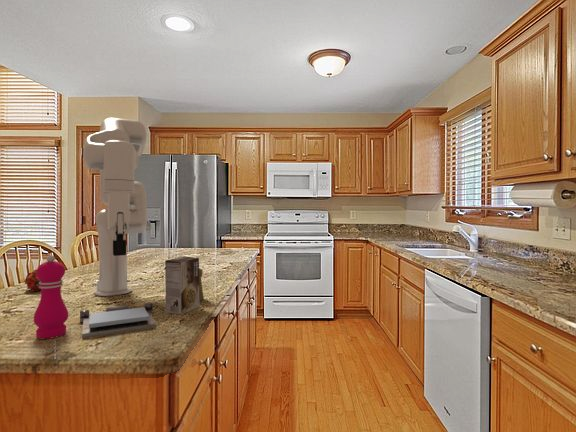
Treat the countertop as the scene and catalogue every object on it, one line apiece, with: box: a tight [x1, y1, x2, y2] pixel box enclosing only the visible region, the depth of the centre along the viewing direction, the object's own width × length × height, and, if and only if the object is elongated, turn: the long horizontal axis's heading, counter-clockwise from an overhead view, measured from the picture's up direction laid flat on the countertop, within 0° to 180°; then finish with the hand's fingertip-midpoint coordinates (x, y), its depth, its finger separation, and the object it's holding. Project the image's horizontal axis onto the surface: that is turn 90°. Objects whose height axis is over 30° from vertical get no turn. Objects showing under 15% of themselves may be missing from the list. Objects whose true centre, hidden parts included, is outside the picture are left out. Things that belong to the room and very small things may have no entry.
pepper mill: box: [33, 254, 69, 339], centre depth 88 cm, size 7×7×20 cm
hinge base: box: [79, 302, 157, 339], centre depth 97 cm, size 17×19×3 cm
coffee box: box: [164, 256, 200, 315], centre depth 110 cm, size 9×6×16 cm
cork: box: [199, 267, 205, 302], centre depth 123 cm, size 6×6×11 cm
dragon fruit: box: [24, 269, 41, 292], centre depth 137 cm, size 8×8×12 cm
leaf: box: [89, 304, 149, 328], centre depth 97 cm, size 15×14×2 cm
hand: (119, 254), depth 95 cm, fingers closed
